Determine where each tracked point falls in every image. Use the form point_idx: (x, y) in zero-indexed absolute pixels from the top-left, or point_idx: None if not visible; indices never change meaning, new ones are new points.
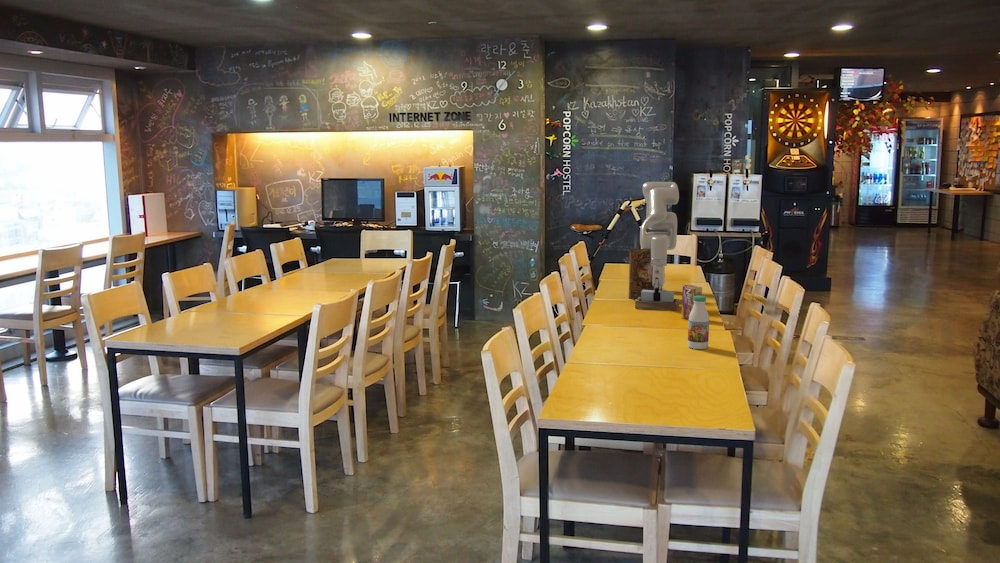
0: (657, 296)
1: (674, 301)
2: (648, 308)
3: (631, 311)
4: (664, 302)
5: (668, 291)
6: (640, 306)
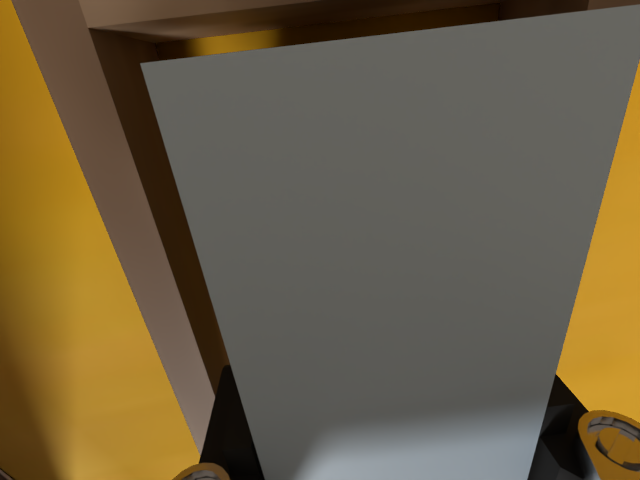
0: None
1: (128, 77)
2: None
3: (606, 410)
4: (191, 242)
5: (310, 272)
6: None
